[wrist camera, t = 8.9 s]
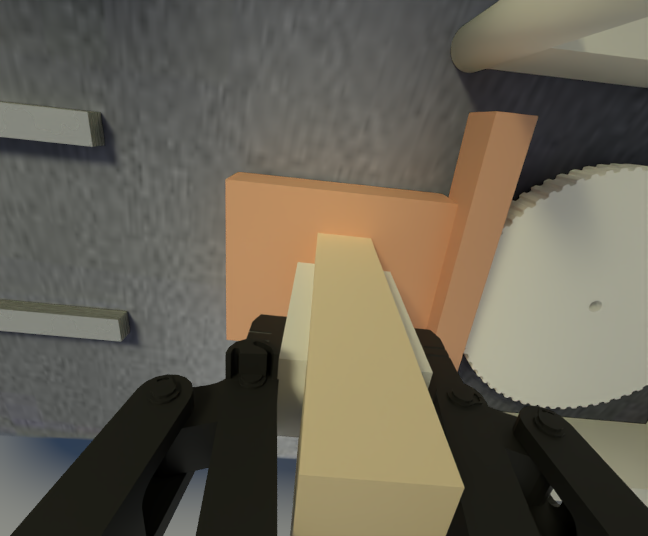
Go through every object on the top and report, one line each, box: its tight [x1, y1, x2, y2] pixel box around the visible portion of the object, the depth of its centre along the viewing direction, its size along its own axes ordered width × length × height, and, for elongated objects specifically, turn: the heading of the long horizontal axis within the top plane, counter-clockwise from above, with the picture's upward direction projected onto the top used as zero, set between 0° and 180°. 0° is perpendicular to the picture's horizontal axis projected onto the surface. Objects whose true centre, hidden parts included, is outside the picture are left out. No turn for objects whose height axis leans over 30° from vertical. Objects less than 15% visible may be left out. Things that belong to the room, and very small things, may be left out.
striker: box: [226, 111, 538, 536], centre depth 13 cm, size 12×16×14 cm
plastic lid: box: [463, 163, 648, 409], centre depth 19 cm, size 14×14×2 cm
